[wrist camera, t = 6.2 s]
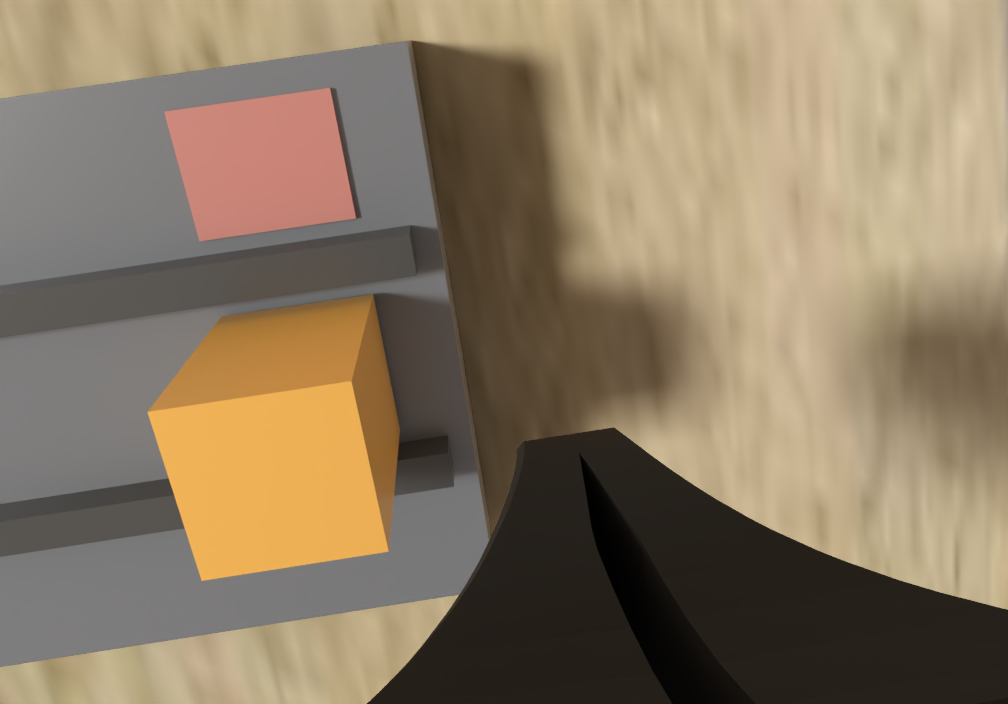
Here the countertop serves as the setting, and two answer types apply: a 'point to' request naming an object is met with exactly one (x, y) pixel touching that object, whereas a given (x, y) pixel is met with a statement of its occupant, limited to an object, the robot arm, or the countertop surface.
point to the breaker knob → (283, 439)
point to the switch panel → (189, 318)
